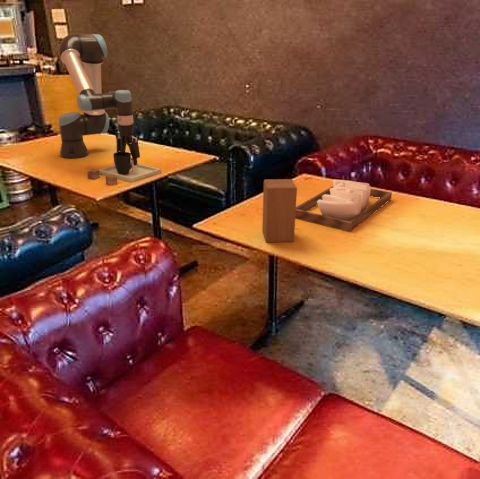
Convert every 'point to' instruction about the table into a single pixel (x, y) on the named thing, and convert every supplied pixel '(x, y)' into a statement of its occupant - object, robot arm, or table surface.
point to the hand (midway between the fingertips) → (129, 169)
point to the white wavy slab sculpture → (345, 200)
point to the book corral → (338, 223)
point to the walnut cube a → (93, 174)
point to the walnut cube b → (111, 179)
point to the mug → (122, 162)
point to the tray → (131, 173)
